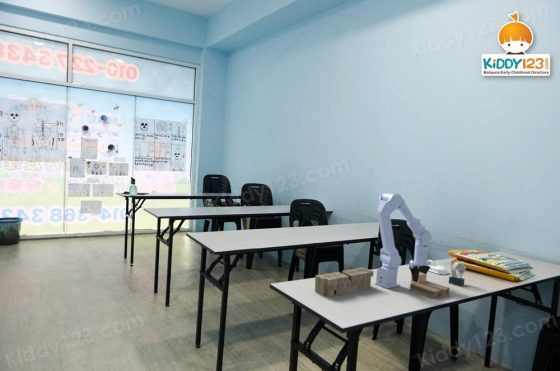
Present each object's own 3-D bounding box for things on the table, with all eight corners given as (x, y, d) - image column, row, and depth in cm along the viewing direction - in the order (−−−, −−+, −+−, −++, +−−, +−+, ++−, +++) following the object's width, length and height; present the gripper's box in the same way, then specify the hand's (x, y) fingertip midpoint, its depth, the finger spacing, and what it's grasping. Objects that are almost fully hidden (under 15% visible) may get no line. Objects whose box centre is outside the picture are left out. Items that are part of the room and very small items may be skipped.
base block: (432, 298, 167) (433, 292, 167) (409, 290, 177) (410, 283, 177) (448, 294, 174) (449, 288, 174) (425, 286, 184) (426, 280, 184)
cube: (419, 285, 185) (420, 275, 185) (410, 282, 189) (411, 272, 189) (425, 284, 188) (426, 274, 188) (417, 281, 192) (417, 271, 192)
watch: (466, 284, 191) (468, 262, 191) (457, 286, 187) (459, 264, 186) (455, 281, 196) (457, 260, 195) (446, 283, 191) (448, 261, 191)
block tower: (326, 299, 162) (373, 287, 179) (327, 280, 161) (374, 270, 178) (314, 293, 169) (360, 282, 185) (314, 275, 168) (361, 265, 184)
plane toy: (440, 276, 204) (441, 265, 204) (409, 266, 220) (410, 256, 220) (451, 274, 210) (452, 263, 209) (420, 264, 226) (421, 255, 226)
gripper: (418, 256, 180) (416, 284, 181) (436, 253, 188) (434, 281, 189) (406, 253, 186) (403, 280, 187) (424, 250, 194) (422, 276, 195)
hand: (418, 280), depth 189 cm, fingers closed on cube, 5 cm apart
